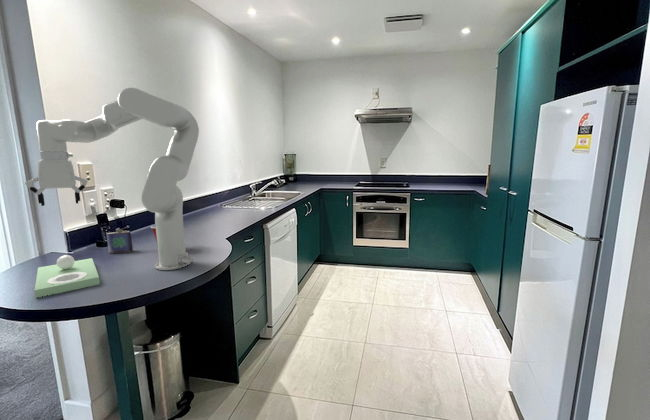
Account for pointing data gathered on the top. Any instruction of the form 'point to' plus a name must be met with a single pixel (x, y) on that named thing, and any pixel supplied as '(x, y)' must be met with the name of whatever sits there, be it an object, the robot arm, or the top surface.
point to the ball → (65, 262)
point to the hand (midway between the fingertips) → (60, 204)
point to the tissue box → (65, 278)
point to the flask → (119, 241)
